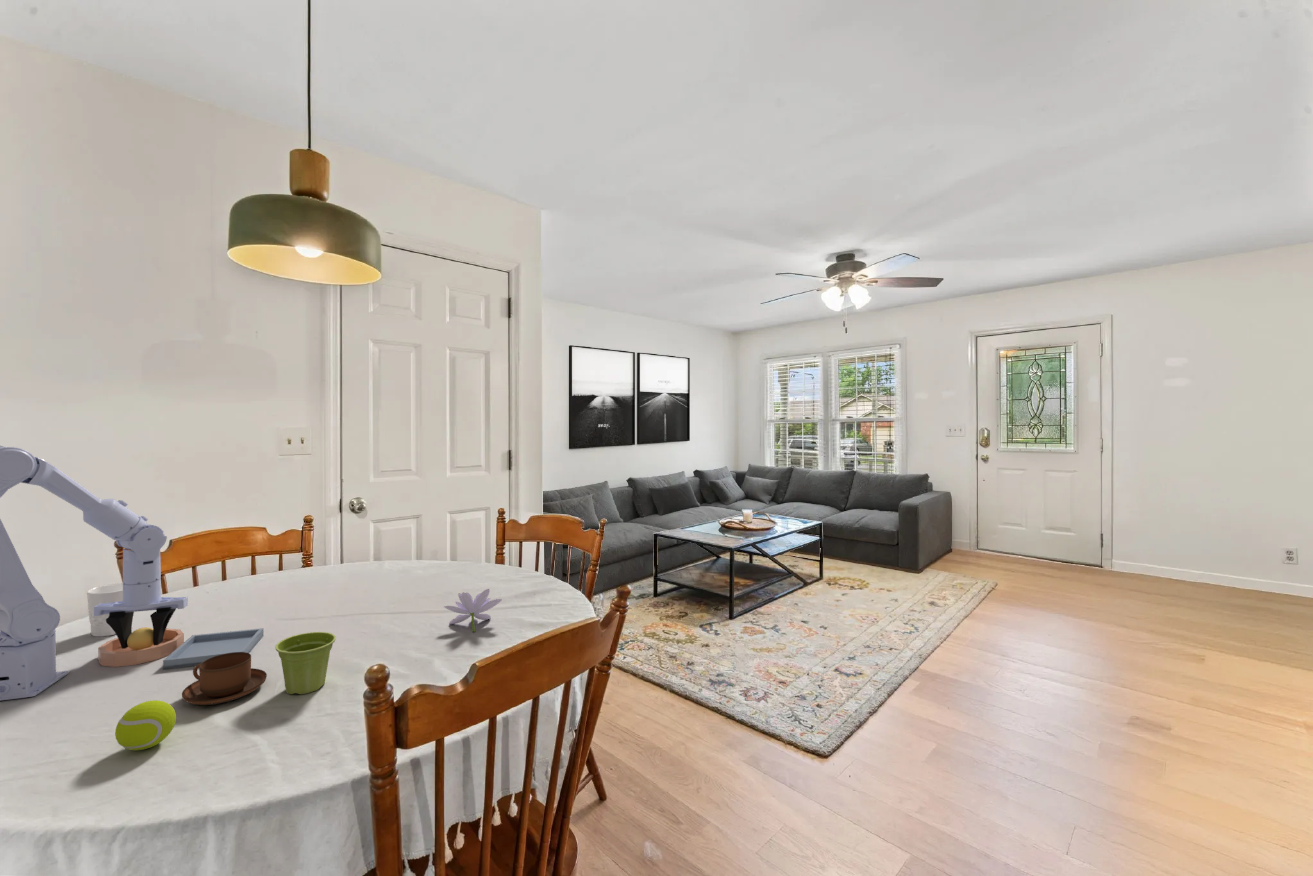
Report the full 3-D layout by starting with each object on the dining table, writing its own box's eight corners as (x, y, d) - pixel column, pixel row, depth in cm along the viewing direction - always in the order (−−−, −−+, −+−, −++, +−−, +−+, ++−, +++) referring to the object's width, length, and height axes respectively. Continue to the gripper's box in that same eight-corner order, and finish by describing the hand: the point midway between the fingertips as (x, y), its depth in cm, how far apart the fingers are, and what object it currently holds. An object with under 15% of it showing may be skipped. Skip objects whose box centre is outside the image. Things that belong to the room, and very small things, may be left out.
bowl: (165, 661, 109) (165, 648, 109) (84, 670, 104) (83, 657, 104) (193, 637, 121) (193, 625, 120) (120, 644, 116) (120, 632, 116)
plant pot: (324, 670, 107) (324, 627, 106) (343, 686, 101) (343, 640, 100) (268, 688, 99) (268, 641, 99) (285, 706, 93) (285, 657, 93)
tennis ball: (110, 766, 77) (109, 720, 76) (120, 742, 82) (120, 699, 82) (172, 750, 81) (172, 706, 80) (179, 728, 86) (178, 687, 86)
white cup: (105, 639, 118) (104, 594, 118) (77, 635, 120) (77, 591, 119) (145, 626, 126) (145, 584, 126) (119, 623, 128) (119, 581, 127)
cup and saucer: (165, 716, 90) (165, 679, 90) (203, 682, 101) (203, 649, 101) (249, 707, 93) (249, 672, 93) (277, 675, 105) (277, 644, 105)
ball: (150, 652, 111) (150, 630, 111) (122, 655, 109) (121, 633, 109) (161, 644, 115) (161, 622, 115) (134, 646, 114) (134, 625, 114)
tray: (243, 660, 110) (243, 651, 110) (163, 669, 105) (163, 660, 105) (263, 635, 122) (263, 628, 122) (192, 643, 117) (192, 635, 117)
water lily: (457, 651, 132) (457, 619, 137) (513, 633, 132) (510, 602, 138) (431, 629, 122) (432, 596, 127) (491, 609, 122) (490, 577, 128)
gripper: (193, 572, 118) (194, 633, 119) (108, 578, 113) (108, 641, 113) (178, 582, 112) (179, 646, 112) (87, 588, 106) (87, 655, 107)
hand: (142, 645), depth 112 cm, fingers closed on ball, 5 cm apart
